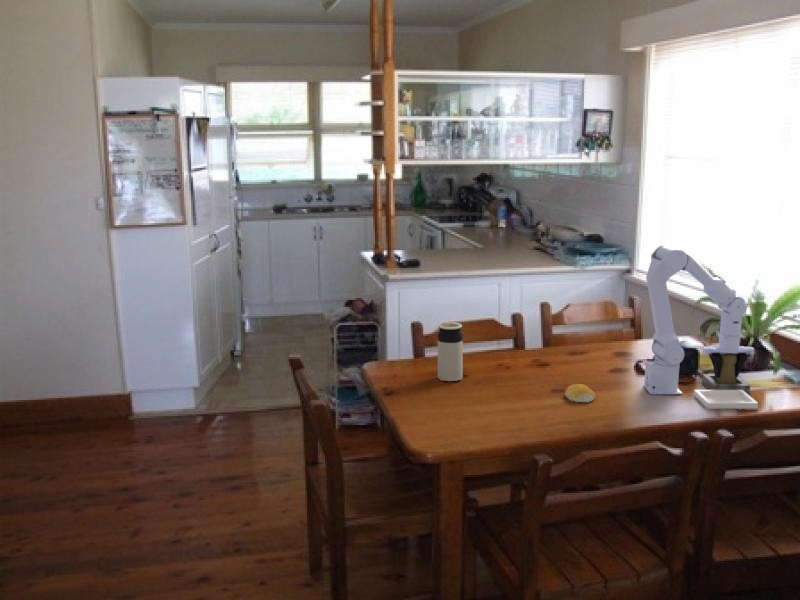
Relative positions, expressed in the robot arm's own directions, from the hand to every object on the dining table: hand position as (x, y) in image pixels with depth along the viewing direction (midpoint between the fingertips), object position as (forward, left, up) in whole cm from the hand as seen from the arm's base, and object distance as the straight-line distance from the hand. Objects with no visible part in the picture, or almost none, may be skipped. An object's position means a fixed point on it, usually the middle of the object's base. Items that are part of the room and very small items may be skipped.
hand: (726, 376), depth 229 cm
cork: (0, 0, -4) cm, 4 cm away
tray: (-5, -13, -3) cm, 14 cm away
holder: (0, 0, -3) cm, 3 cm away
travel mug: (-84, +9, -4) cm, 85 cm away
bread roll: (-46, -9, -4) cm, 47 cm away
